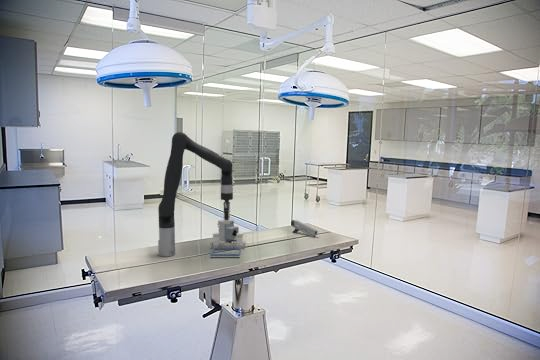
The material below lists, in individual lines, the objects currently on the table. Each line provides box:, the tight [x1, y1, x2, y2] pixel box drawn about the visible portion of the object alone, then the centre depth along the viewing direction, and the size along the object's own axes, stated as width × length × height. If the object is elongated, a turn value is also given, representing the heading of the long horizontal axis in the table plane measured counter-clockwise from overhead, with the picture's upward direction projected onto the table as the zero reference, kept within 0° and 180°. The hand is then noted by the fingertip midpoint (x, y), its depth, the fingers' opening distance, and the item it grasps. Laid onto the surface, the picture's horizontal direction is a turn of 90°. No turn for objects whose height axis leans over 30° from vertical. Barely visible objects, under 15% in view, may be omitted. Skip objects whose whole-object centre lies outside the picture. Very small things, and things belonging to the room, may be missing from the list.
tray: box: [210, 248, 242, 259], centre depth 215 cm, size 17×13×2 cm
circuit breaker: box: [217, 219, 240, 243], centre depth 242 cm, size 8×14×15 cm, turn 53°
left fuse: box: [212, 232, 220, 248], centre depth 226 cm, size 4×4×9 cm
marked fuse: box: [223, 209, 231, 224], centre depth 219 cm, size 4×4×9 cm
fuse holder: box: [209, 240, 246, 250], centre depth 226 cm, size 22×9×5 cm, turn 91°
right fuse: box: [236, 232, 244, 248], centre depth 226 cm, size 4×4×9 cm
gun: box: [290, 219, 319, 238], centre depth 266 cm, size 2×25×10 cm, turn 44°
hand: (226, 219), depth 219 cm, fingers closed on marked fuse, 3 cm apart
